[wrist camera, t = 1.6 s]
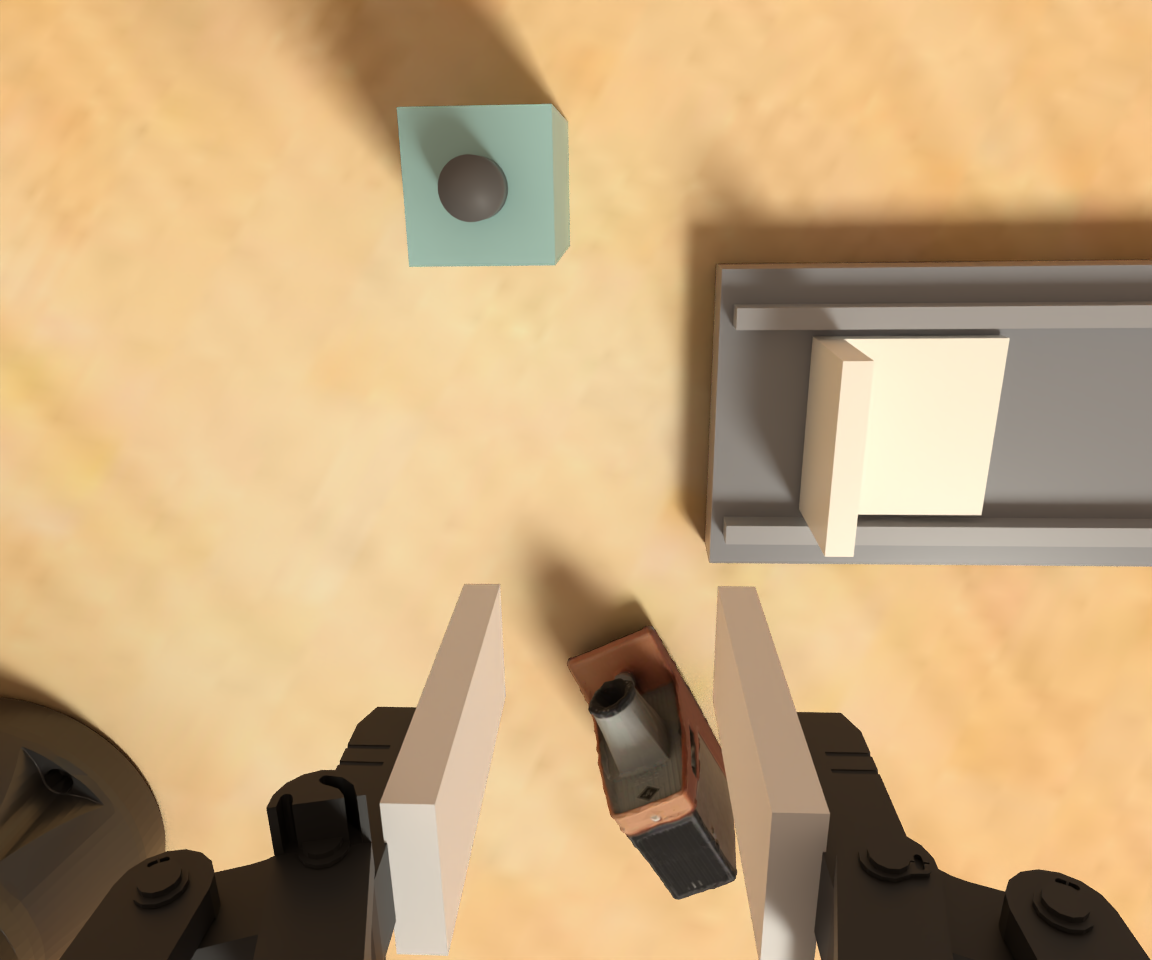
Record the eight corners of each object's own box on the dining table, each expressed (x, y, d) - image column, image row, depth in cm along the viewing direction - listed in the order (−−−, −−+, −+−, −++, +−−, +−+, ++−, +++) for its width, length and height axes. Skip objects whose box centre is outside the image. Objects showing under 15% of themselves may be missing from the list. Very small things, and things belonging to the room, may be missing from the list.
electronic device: (650, 611, 38) (657, 712, 31) (737, 767, 41) (761, 891, 34) (565, 648, 39) (553, 754, 32) (656, 798, 42) (663, 925, 35)
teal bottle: (456, 247, 33) (397, 271, 24) (449, 124, 32) (383, 102, 23) (569, 245, 33) (551, 270, 24) (568, 121, 32) (547, 99, 23)
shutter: (798, 508, 34) (824, 556, 30) (812, 336, 32) (843, 361, 27) (975, 509, 34) (1027, 558, 29) (1002, 335, 31) (1063, 360, 27)
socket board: (704, 543, 37) (711, 573, 34) (716, 263, 33) (725, 271, 30) (1173, 546, 36) (1220, 578, 33) (1245, 258, 32) (1305, 266, 29)
